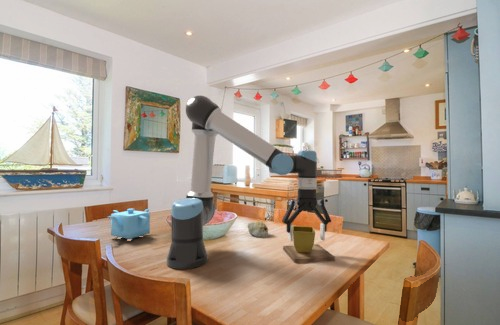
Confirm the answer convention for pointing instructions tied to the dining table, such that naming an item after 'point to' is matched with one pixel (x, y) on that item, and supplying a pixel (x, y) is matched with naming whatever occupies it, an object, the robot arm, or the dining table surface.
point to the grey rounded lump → (258, 229)
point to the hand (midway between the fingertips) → (306, 240)
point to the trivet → (309, 254)
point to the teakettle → (130, 223)
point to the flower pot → (303, 238)
